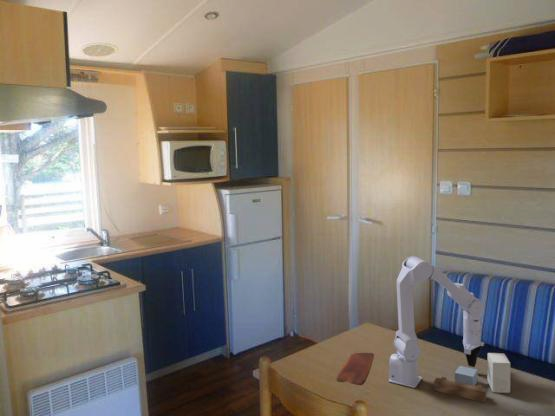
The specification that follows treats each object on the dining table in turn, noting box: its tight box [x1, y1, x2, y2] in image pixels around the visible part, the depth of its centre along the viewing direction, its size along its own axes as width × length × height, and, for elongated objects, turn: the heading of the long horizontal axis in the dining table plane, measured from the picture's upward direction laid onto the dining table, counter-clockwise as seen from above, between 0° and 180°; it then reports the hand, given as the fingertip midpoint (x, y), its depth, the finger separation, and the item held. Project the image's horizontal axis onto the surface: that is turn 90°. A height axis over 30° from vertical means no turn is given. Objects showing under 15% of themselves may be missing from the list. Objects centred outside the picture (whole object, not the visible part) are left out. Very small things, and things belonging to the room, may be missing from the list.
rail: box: [433, 376, 487, 403], centre depth 163 cm, size 16×4×4 cm, turn 56°
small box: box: [486, 352, 511, 394], centre depth 165 cm, size 8×6×10 cm
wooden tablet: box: [336, 352, 375, 386], centre depth 186 cm, size 27×10×2 cm, turn 158°
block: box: [454, 365, 479, 386], centre depth 169 cm, size 6×6×4 cm
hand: (471, 365), depth 176 cm, fingers closed
